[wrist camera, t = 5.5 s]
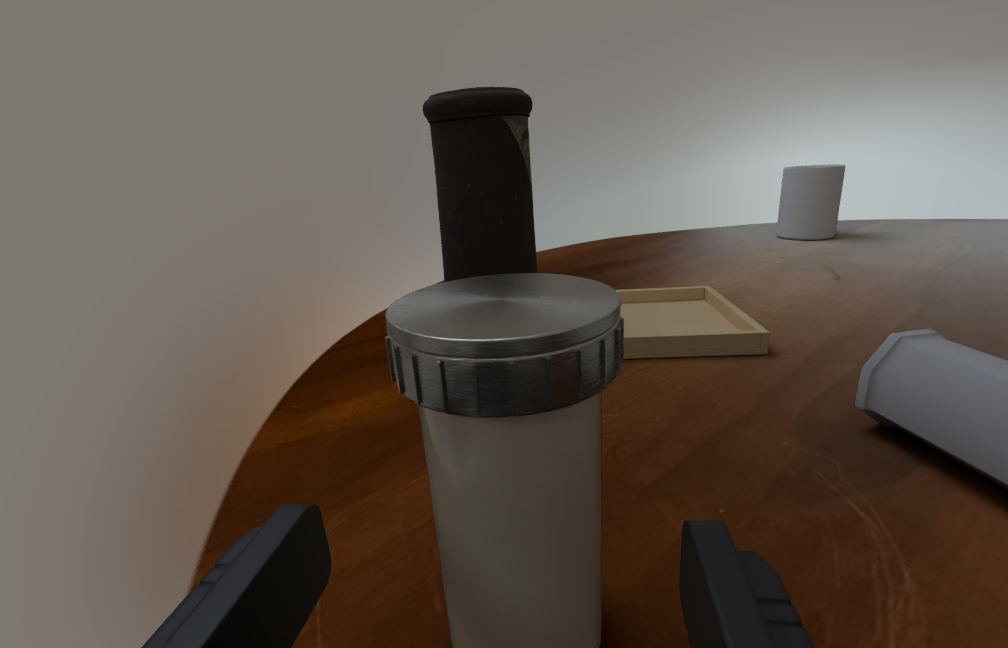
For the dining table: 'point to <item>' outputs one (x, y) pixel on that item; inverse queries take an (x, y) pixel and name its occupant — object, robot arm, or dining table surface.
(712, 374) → the dining table surface
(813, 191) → the mug
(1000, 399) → the tube
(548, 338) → the lid
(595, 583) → the jar
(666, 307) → the tray
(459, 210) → the container
